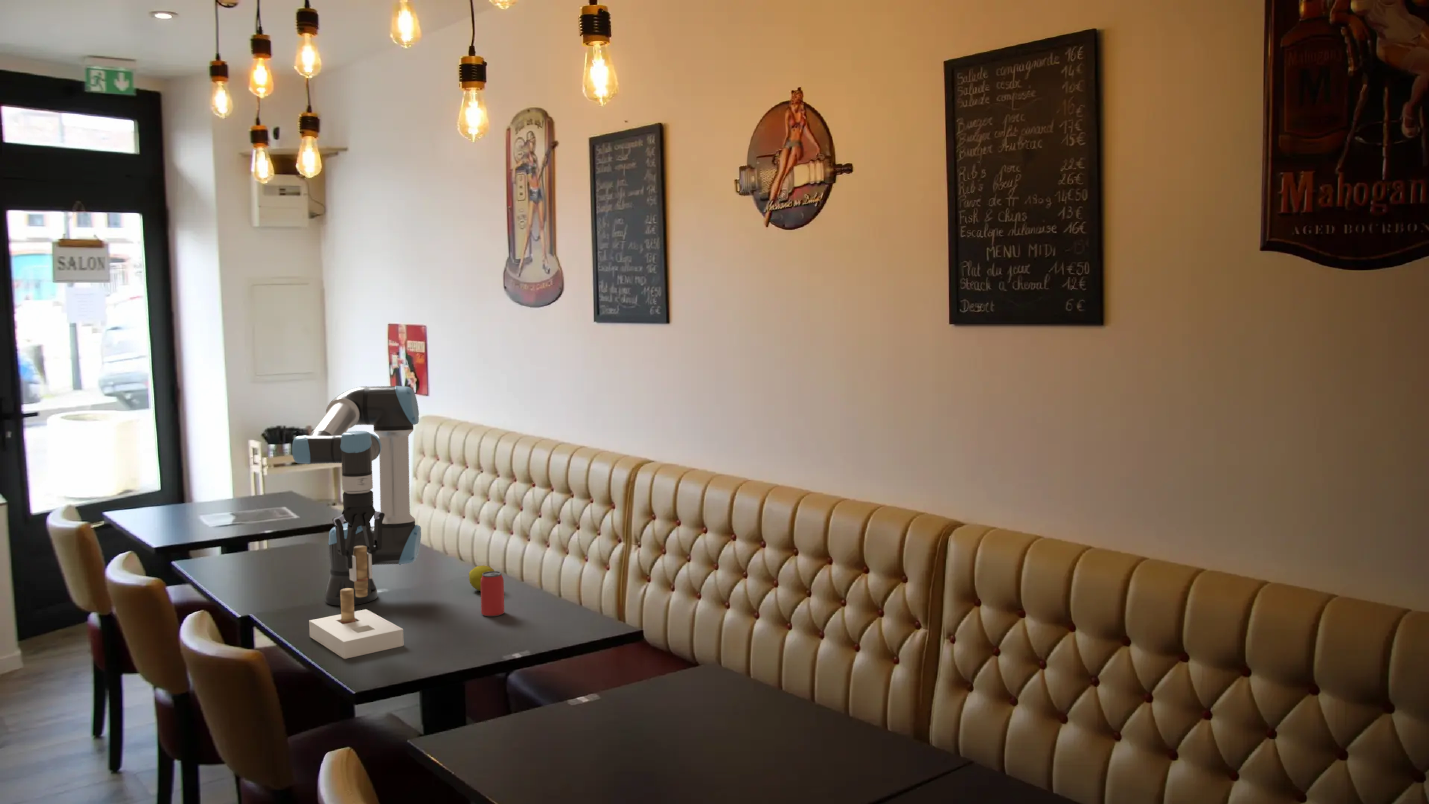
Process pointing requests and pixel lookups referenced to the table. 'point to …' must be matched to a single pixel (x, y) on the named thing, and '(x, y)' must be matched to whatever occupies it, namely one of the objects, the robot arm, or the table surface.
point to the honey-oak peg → (361, 571)
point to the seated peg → (347, 605)
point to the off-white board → (356, 634)
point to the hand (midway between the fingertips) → (361, 578)
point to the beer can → (492, 594)
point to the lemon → (478, 576)
